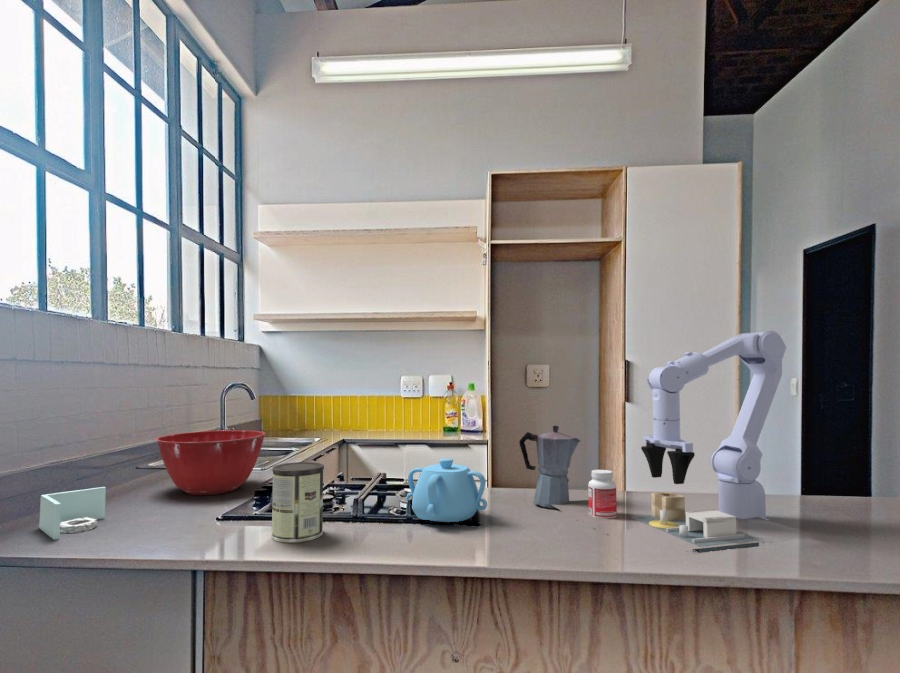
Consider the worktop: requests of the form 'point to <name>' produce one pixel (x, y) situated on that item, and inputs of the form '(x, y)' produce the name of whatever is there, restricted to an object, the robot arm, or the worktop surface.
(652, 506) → the collar
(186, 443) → the mixing bowl
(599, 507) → the pill bottle
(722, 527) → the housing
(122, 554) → the worktop surface
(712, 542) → the board
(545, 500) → the moka pot
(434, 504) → the decorative pot
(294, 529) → the coffee can
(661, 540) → the worktop surface
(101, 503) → the right angle wall
